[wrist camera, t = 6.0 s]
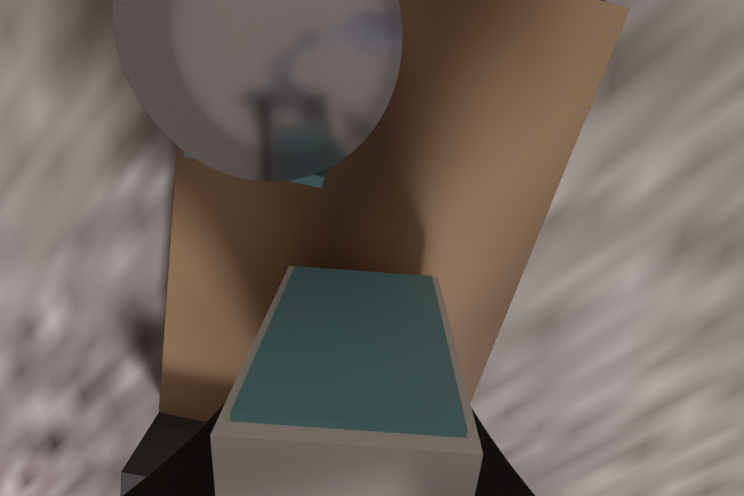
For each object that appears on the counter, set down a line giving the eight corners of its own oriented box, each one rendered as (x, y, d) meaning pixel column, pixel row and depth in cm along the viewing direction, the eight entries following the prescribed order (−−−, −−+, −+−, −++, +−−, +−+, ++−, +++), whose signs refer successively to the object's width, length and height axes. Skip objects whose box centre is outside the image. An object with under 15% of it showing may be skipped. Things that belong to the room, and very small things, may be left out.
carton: (414, 446, 14) (434, 686, 9) (289, 438, 14) (230, 671, 9) (438, 271, 12) (484, 446, 7) (289, 261, 12) (209, 427, 7)
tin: (413, -24, 10) (438, -89, 6) (372, 153, 12) (364, 213, 7) (238, -72, 10) (114, -181, 5) (218, 116, 12) (110, 154, 7)
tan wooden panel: (606, 13, 12) (695, -5, 8) (429, 467, 18) (440, 562, 14) (213, -94, 11) (139, -160, 8) (171, 416, 17) (120, 504, 14)
